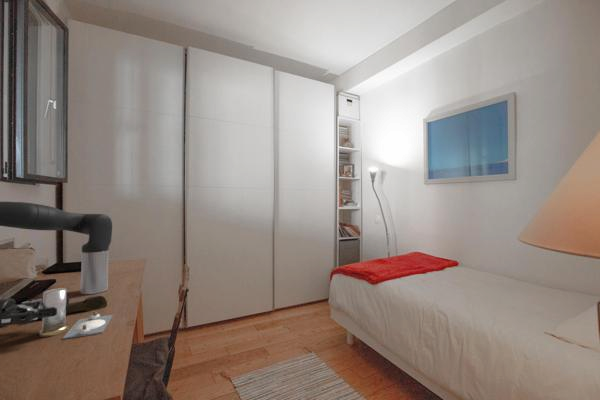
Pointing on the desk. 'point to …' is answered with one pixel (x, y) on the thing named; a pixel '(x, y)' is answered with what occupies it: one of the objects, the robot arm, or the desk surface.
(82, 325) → the board
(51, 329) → the clear glass cylinder
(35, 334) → the desk surface
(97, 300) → the hand tool
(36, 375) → the desk surface
